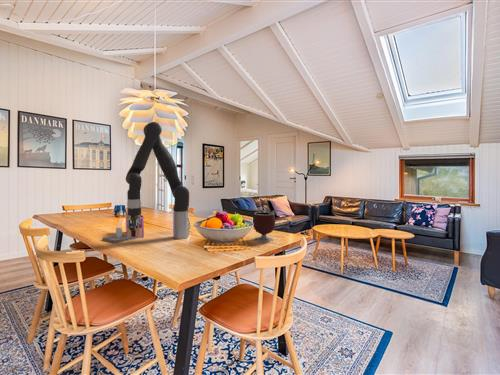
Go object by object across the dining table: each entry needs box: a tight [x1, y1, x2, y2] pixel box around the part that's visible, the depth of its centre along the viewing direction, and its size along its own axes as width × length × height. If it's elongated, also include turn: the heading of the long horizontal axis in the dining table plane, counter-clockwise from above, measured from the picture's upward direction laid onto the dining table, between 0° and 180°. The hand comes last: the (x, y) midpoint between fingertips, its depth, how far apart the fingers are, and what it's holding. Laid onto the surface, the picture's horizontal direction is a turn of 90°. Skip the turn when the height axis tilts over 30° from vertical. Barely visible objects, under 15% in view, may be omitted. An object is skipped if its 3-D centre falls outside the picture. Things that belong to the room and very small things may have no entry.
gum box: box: [125, 213, 145, 239], centre depth 182 cm, size 24×8×14 cm, turn 32°
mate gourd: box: [252, 209, 277, 243], centre depth 174 cm, size 16×14×20 cm
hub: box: [126, 228, 142, 237], centre depth 162 cm, size 5×7×4 cm
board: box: [102, 226, 136, 244], centre depth 169 cm, size 13×13×8 cm
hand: (134, 235), depth 162 cm, fingers closed on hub, 5 cm apart
